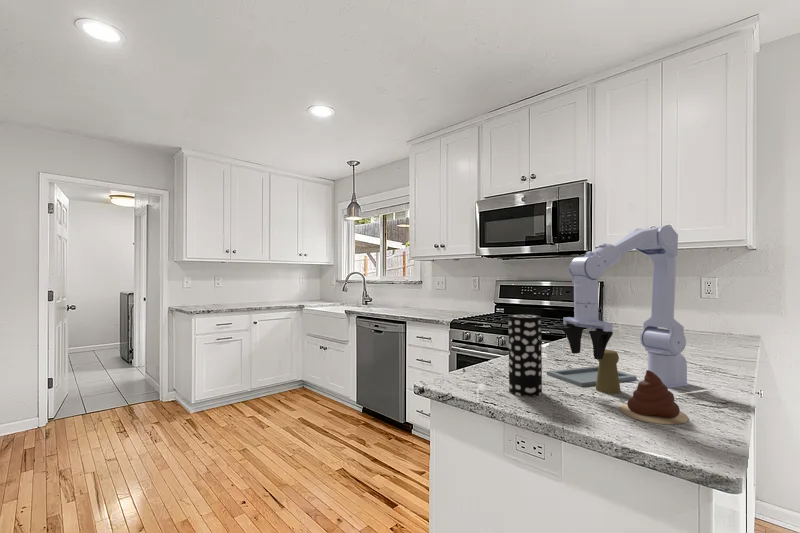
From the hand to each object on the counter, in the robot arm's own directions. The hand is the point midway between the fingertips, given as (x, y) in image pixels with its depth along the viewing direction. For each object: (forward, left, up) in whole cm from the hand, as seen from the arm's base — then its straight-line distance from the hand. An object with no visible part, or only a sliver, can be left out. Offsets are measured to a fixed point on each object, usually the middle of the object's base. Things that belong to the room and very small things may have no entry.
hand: (586, 355), depth 106 cm
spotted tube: (+13, -8, -10) cm, 18 cm away
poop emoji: (-3, +16, -10) cm, 19 cm away
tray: (-13, -12, -10) cm, 20 cm away
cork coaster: (-3, +16, -10) cm, 19 cm away
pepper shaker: (-7, 0, -10) cm, 12 cm away
